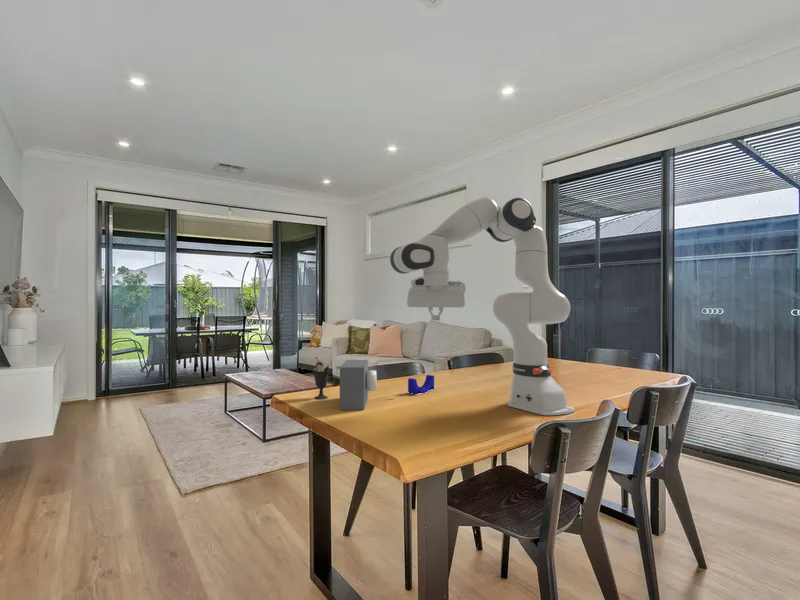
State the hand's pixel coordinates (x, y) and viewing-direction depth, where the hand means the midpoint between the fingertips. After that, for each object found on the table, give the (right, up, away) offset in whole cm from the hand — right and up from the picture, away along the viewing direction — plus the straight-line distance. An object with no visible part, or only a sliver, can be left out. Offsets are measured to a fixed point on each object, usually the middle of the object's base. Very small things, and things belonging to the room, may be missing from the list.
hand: (435, 320), depth 151 cm
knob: (-25, -25, -1) cm, 35 cm away
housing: (-28, -29, -1) cm, 41 cm away
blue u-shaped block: (-4, -30, +18) cm, 35 cm away
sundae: (-42, -29, +8) cm, 51 cm away
